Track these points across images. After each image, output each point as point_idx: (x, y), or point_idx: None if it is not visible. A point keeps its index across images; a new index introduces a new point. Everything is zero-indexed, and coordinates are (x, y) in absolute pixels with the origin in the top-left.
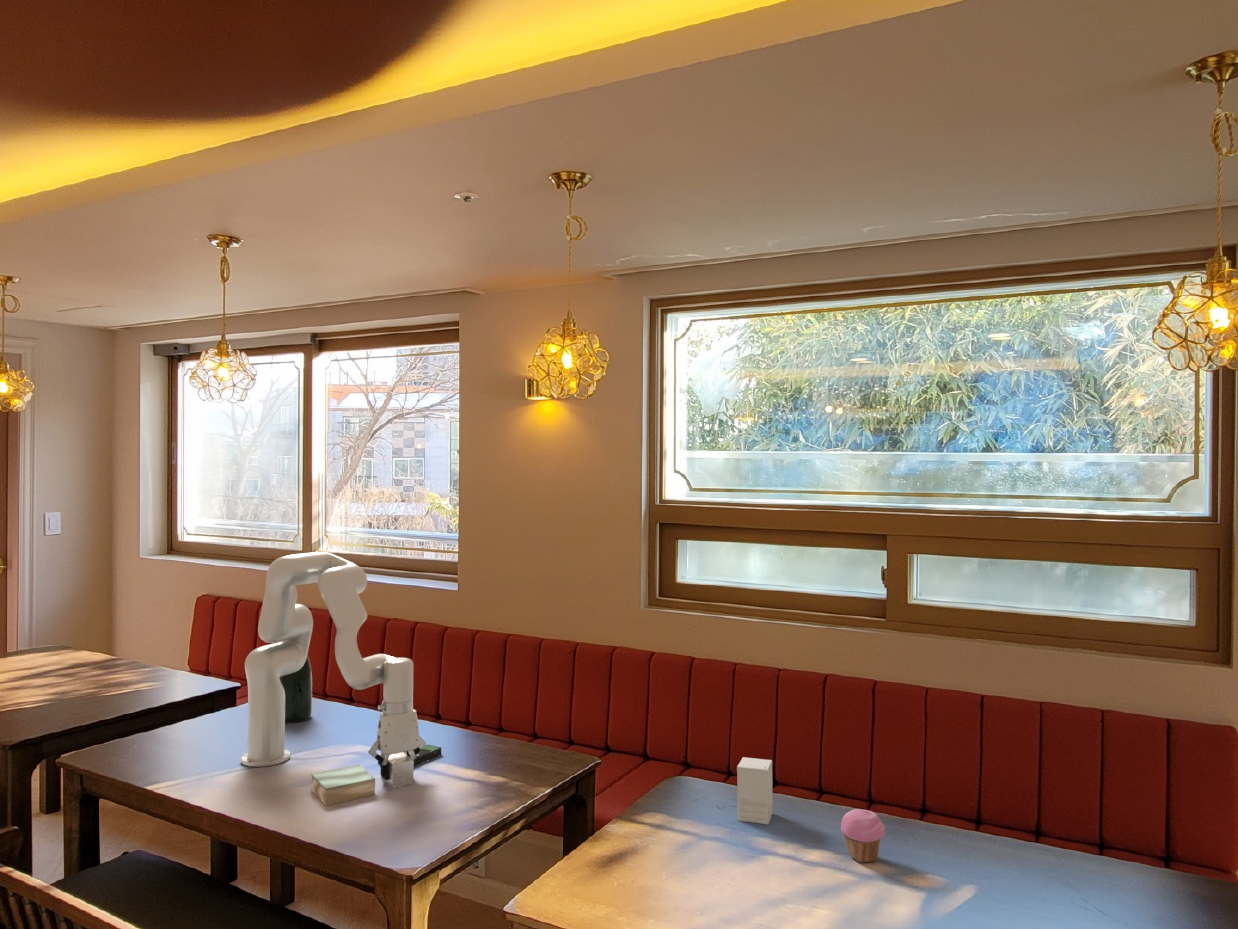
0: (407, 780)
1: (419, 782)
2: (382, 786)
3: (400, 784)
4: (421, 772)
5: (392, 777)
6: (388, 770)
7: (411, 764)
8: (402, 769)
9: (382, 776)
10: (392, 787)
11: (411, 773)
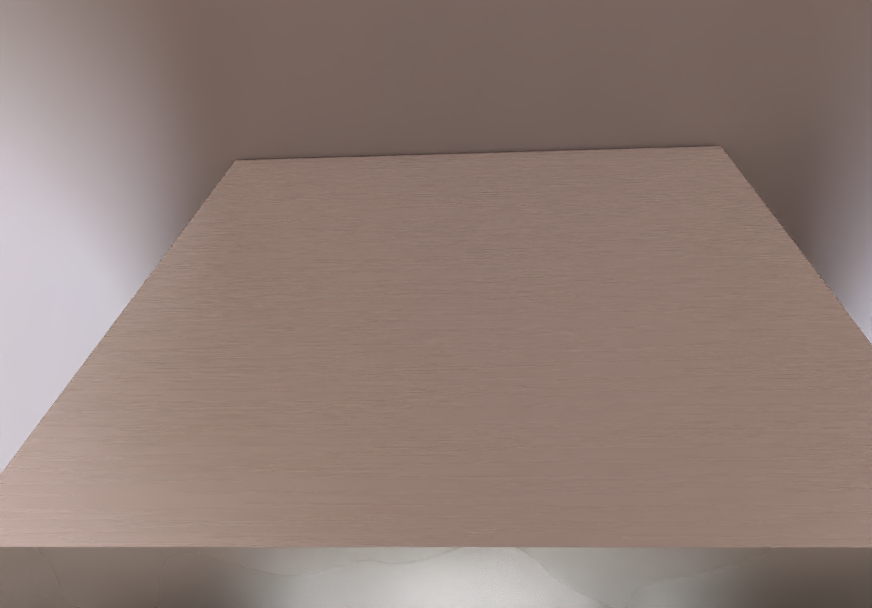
0: (356, 193)
1: (95, 184)
2: None
3: (533, 169)
4: None
5: (800, 258)
6: None
7: (114, 441)
8: (495, 357)
9: None
10: (723, 150)
11: (213, 265)
